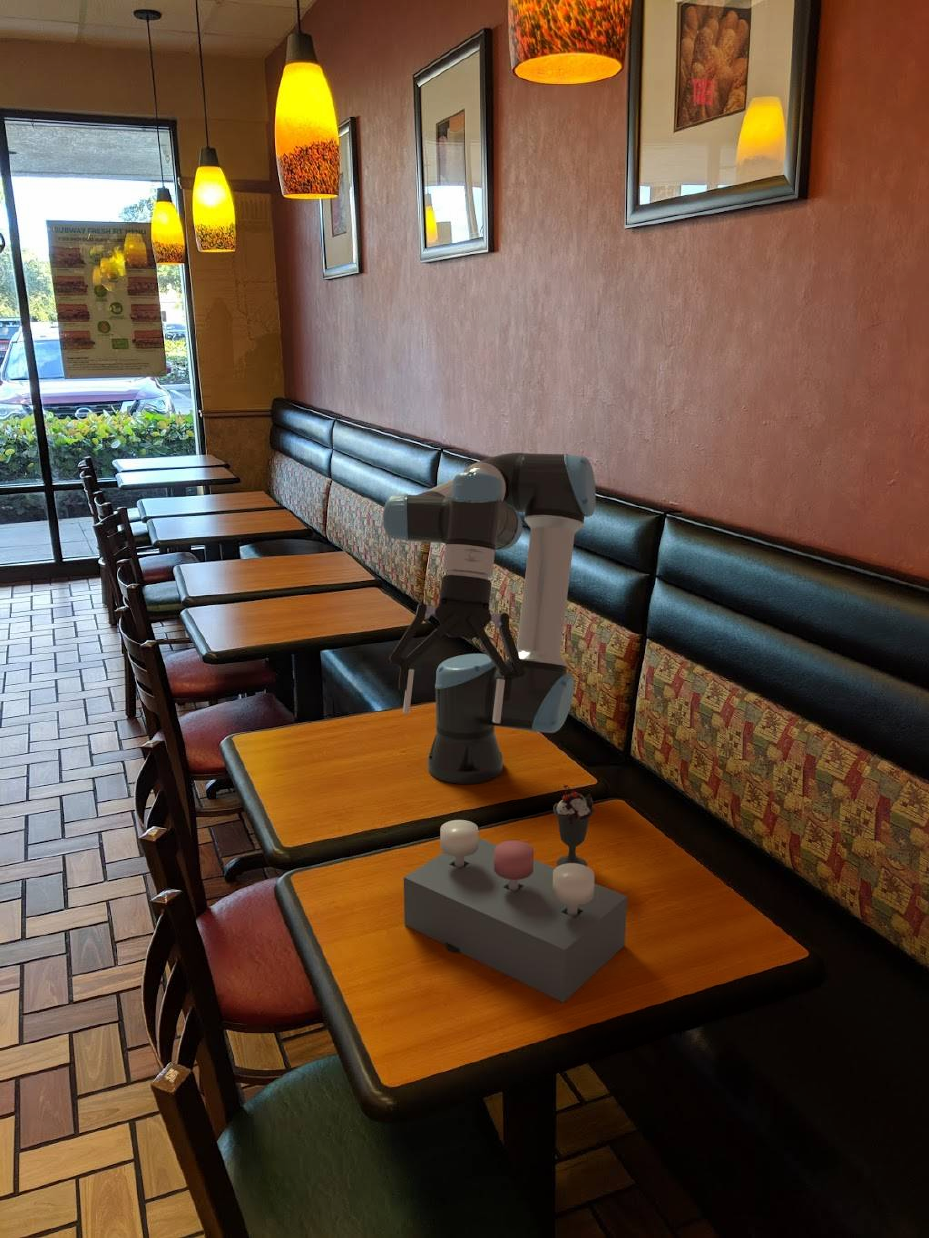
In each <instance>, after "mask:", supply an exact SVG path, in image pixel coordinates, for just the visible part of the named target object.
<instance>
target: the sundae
mask: <svg viewBox="0 0 929 1238" xmlns="http://www.w3.org/2000/svg"><path fill="white" fill-rule="evenodd" d="M563 788H565V791H564V792H565V793H564V795H563V796H562V798H561V799H562V800H560V801H559V802H556V803H554V805H553V807H552V808H553V809H552V810H553V814H554V815H555V816H556V817H557V821H558V829H559V831H558V832H559V834H560V835H559V836H560V840H561V841H562V842H563V843H564V844H565V845H566V846H568V854H567V855H565V856H562V857H560V858H558V859H557V861H556V865H557V866H559V865H562V864H567V863H576V864H582V865H585V866H587V867H588V864H587V861H586V860H585V859H583V858H582V857H579V856H577V854H576V853H577V852H576V850H577V849H576V848H577V847H578V846H580V845H581V844H582V843H583V842H584V841H585V838H586V835H587V832H588V831H587V830H588V825H589V821H590V817H591V816H592V815H593V814H594V812H595V809H594V807H593V806H594V802H593V798H592V795H591V793H589V794H587V795H586V796H585V797H584V796H583V795H582V794H581V793H579V792H576V791H573V790H572V789H571V788H570V787H569V786H568V784H566V785H565V784H564V785H563ZM567 788H568V789H569V791H571V793H569V794H567V793H568V792H567V791H568V790H567ZM557 866H556V867H557Z"/></svg>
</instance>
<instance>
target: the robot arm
mask: <svg viewBox="0 0 929 1238" xmlns="http://www.w3.org/2000/svg"><path fill="white" fill-rule="evenodd" d="M595 480H596V479H595V474H594V470H593V466H592V464H591V462H590V460H589V459H588V458H586V457H585V456H582V455H572V454H569V453H563V454H560V453H558V454H557V453H555V454H553V453H528V452H527V453H526V452H525V453H523V452H510V453H503V454H499V455H496V456H493V457H488V458H485V459H483V460H480V461H477V462H475V463H473V464H470V465H469V466H467V467H466V468H465V469H464V470H463V472H459V473H458V474H456V475H455V476H454V478H452V479H451V480H448V481H446V482H443V483H441V484H439V485H437V486H434V487H432V488H430V489H428V490H425V491H424V492H421V493H419V494H408V493H404V494H392V495H390V497H388V498H387V500H386V502H385V504H384V507H383V512H382V513H383V514H382V523H383V528H384V529H383V530H384V531H385V534H386V535H387V536H388V537H389V538H390V539H392V540H397V541H398V540H399V541H404V542H421V543H422V542H423V543H437V544H445V547H444V548H445V549H444V556H443V563H442V564H443V565H442V570H443V573H444V572H445V574H444V575H443V576H442V577H441V583H440V591H439V600H438V604H437V606H431V605H427V604H426V603H423V602H422V603H420V604H417V606H416V607H417V608H416V611H415V616H414V618H413V620H412V621H411V623H410V624H409V626H408V627H407V629H406V631H405V632H404V633H403V635H402V637H401V639H400V640H399V641H398V643H397V645H396V647H394V649H393V651H392V653H391V654H390V655H389V661H390V662H391V663H393V664H394V665H397V666H398V667H399V669H400V670H399V678H398V679H399V680H398V689H399V691H404V700H403V707H402V713H403V714H404V715H410V710H411V700H412V693H413V683H414V674H415V669H412V668H410V667H411V665H413V664H414V663H415V662H416V661H417V660H418V659H419V658H420V657H422V655H424V654H425V652H426V651H428V650H429V649H430V648H431V647H432V646H433V645H434V644H435V643H436V642H437V641H438V640H439V639H440V638H441V637H443V636H444V635H446V636H448V637H449V638H462V639H466V640H472V639H476V640H477V641H478V643H479V644H480V645H481V646H482V648H483V650H484V652H485V653H466V654H462V655H457V656H453V657H450V658H448V659H446V660H443V661H442V662H440V663H439V665H438V667H436V668H437V669H436V675H435V684H434V689H435V720H436V721H435V724H436V725H435V726H436V732H435V734H434V735H435V736H434V739H433V742H432V744H431V748H430V751H429V754H428V757H427V770H428V773H429V774H430V775H431V776H432V777H433V778H436V779H438V780H440V781H442V782H447V783H451V784H457V785H459V784H461V785H469V784H471V785H474V784H481V783H485V782H488V781H491V780H493V779H495V778H497V777H499V776H500V775H501V773H502V772H503V769H504V767H503V766H504V764H503V763H504V758H503V755H502V752H501V751H500V747H499V746H500V745H499V743H498V739H497V737H496V734H495V732H496V731H495V727H500V728H508V729H514V730H521V731H529V732H532V733H549V734H553V733H556V732H557V731H560V729H561V728H562V726H563V725H564V724H565V722H566V720H567V717H568V715H569V712H570V709H571V706H572V702H573V697H574V692H575V691H574V690H575V689H574V686H575V679H574V677H573V675H572V674H570V673H567V669H568V664H567V663H566V661H565V660H564V659H563V657H562V655H561V652H562V643H563V635H564V625H565V619H566V618H565V617H566V611H567V610H566V609H567V602H568V601H567V600H568V592H569V586H570V585H569V584H570V576H571V575H570V574H571V567H572V559H573V558H572V557H573V549H574V541H575V535H576V533H577V532H579V531H580V530H581V529H583V527H584V524H585V518H589V517H592V516H593V515H594V514H595V508H596V496H597V495H596V493H597V492H596V483H595ZM519 513H524V518H523V519H524V521H525V523H526V524H527V526H528V527H529V529H530V535H529V542H528V552H527V558H526V569H525V577H524V583H523V592H522V599H521V600H522V601H521V609H520V616H519V617H520V618H519V626H518V634H517V641H516V643H515V641H514V638H513V634H512V632H511V629H510V615H509V614H508V613H507V612H502V613H491V612H490V603H491V602H490V601H491V591H492V582H491V580H490V579H489V578H491V577H492V576H493V573H494V564H495V553H496V550H497V551H503V550H508V549H510V548H512V547H513V546H514V545H516V544H517V543H518V541H519V539H520V538H521V536H522V533H523V522H522V518H521V516H520V514H519ZM432 615H434V616H435V618H436V621H438V623H439V626H437V627H436V628H435V629H433V630H432V632H431V633H430V634H429V635H428V636H427V637H426V638H425V639H423V640H422V642H420V643H419V644H418V646H417V645H416V647H415V649H413V650H412V651H411V652H410V653H408V655H406V657H405V658H403V657H401V656H403V653H404V652H405V650H406V648H407V647H408V646H409V645H410V643H411V641H412V640H413V638H414V637H415V635H416V634H417V632H418V631H419V629H420V627H421V626H422V624H423V622H424V620H428V619H430V617H431V616H432ZM491 622H492V623H493V626H495V628H498V630H499V633H500V637H501V640H502V642H503V645H504V648H505V651H506V654H507V659H506V662H505V660H504V659H503V657H502V656H501V654H500V652H499V651H498V650H497V648H496V647H495V645H494V644H493V643H492V641H491V639H490V637H489V636H488V634H487V633H486V631H485V629H486V627H487V626H488V625H489V624H490V623H491Z"/></svg>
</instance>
